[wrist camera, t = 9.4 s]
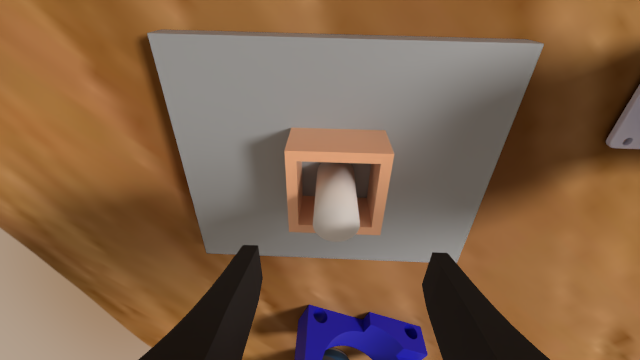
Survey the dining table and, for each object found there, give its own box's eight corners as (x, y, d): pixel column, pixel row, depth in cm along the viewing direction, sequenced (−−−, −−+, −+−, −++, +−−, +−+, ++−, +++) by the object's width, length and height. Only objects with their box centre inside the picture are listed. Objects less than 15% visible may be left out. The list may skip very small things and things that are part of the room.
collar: (385, 130, 17) (394, 153, 15) (374, 204, 21) (380, 235, 18) (291, 127, 18) (284, 150, 15) (294, 202, 21) (288, 232, 18)
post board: (527, 39, 16) (628, 65, 10) (450, 249, 25) (483, 323, 19) (161, 29, 16) (75, 50, 11) (212, 240, 25) (179, 309, 20)
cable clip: (419, 325, 31) (436, 390, 26) (397, 345, 33) (409, 408, 28) (314, 294, 29) (310, 359, 24) (298, 318, 31) (292, 382, 26)
